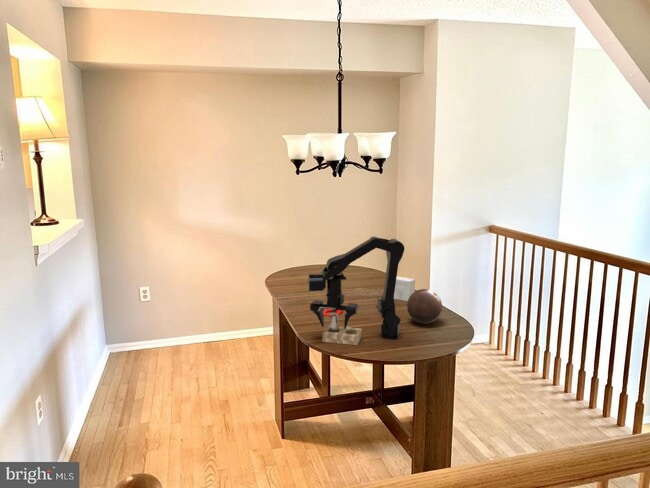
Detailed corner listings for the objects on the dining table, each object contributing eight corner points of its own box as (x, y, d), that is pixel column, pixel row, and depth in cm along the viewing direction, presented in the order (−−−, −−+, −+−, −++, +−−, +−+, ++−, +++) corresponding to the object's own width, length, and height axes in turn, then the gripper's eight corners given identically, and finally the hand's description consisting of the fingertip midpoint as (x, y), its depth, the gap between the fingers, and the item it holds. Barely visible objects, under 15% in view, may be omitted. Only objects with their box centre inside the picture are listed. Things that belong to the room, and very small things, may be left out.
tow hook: (333, 319, 217) (345, 312, 224) (332, 291, 214) (344, 286, 221) (318, 315, 222) (330, 309, 229) (317, 288, 219) (329, 283, 226)
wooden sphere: (442, 329, 203) (444, 295, 200) (406, 327, 205) (407, 293, 202) (440, 317, 217) (441, 285, 214) (406, 316, 220) (407, 284, 217)
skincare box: (414, 298, 245) (415, 278, 243) (409, 301, 240) (409, 281, 238) (396, 295, 251) (397, 275, 249) (390, 298, 246) (391, 278, 244)
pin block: (361, 336, 195) (361, 328, 194) (357, 345, 186) (357, 336, 186) (328, 333, 199) (328, 325, 198) (322, 341, 190) (322, 333, 189)
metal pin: (338, 337, 195) (338, 313, 193) (336, 340, 192) (336, 316, 190) (331, 336, 195) (331, 313, 193) (329, 339, 192) (329, 315, 191)
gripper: (361, 286, 195) (360, 323, 198) (317, 283, 200) (317, 318, 203) (355, 294, 184) (355, 332, 187) (309, 290, 189) (309, 328, 192)
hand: (334, 327), depth 193 cm, fingers open, 9 cm apart
